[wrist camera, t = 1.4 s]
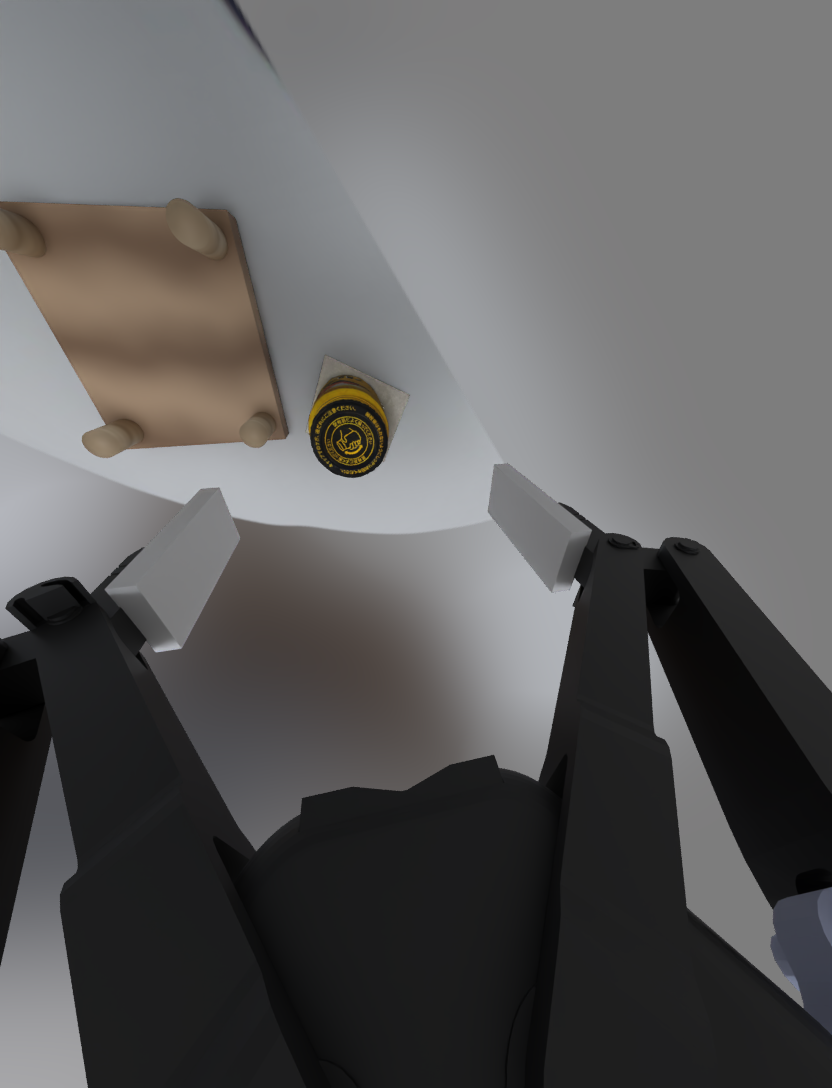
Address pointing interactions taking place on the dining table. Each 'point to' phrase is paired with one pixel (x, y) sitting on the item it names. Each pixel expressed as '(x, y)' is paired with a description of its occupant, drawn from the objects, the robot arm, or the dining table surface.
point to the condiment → (352, 419)
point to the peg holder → (151, 320)
